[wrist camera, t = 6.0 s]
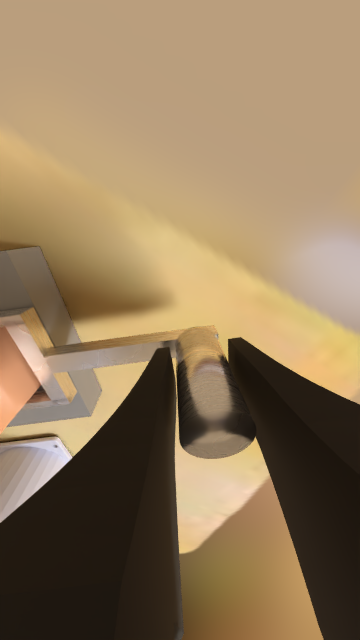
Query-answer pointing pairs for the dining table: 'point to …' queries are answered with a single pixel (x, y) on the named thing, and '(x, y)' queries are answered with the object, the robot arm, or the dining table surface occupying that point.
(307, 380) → the robot arm
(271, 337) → the dining table surface
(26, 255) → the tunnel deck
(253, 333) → the dining table surface
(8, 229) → the dining table surface
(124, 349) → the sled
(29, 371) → the terracotta block
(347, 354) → the dining table surface
